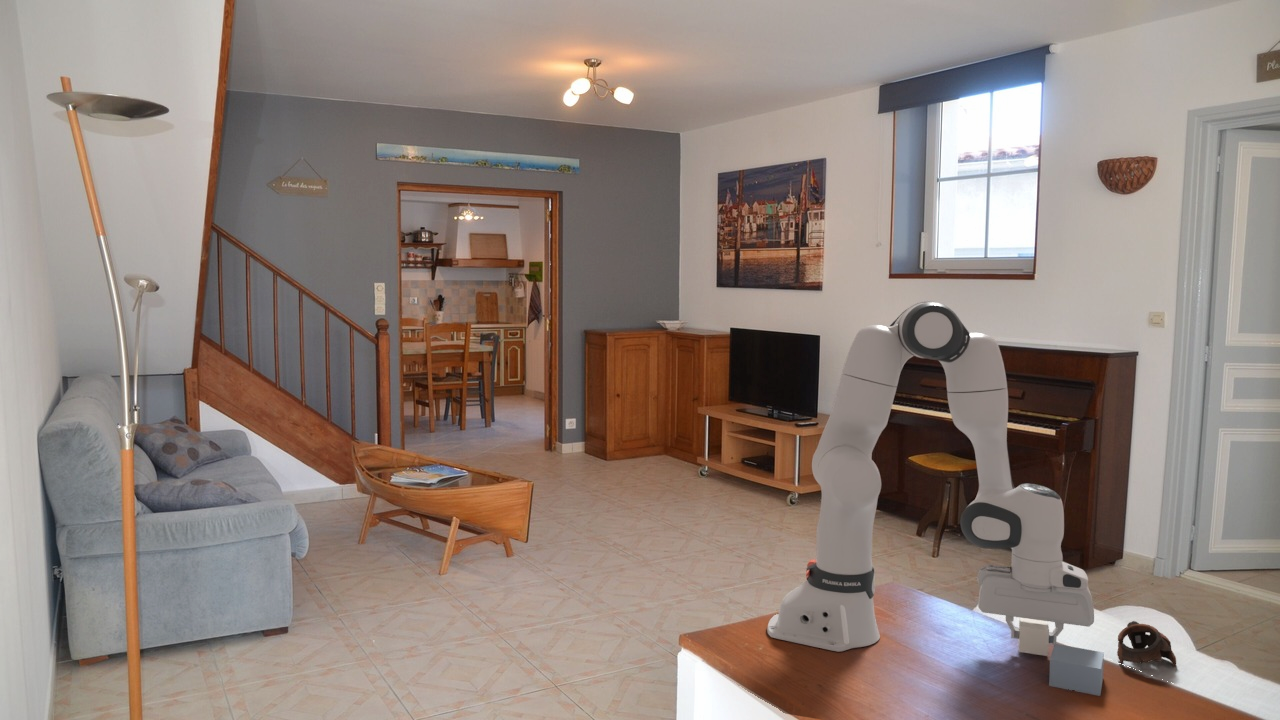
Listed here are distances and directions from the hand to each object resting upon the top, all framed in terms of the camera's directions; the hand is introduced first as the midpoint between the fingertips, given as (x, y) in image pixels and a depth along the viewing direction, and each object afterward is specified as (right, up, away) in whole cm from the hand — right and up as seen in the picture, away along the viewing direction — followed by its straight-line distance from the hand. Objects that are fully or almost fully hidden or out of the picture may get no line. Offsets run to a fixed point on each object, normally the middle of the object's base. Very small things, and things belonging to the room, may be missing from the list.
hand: (1033, 640), depth 167 cm
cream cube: (0, -2, 0) cm, 2 cm away
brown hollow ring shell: (+19, -3, -3) cm, 20 cm away
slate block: (+2, -4, -12) cm, 13 cm away
